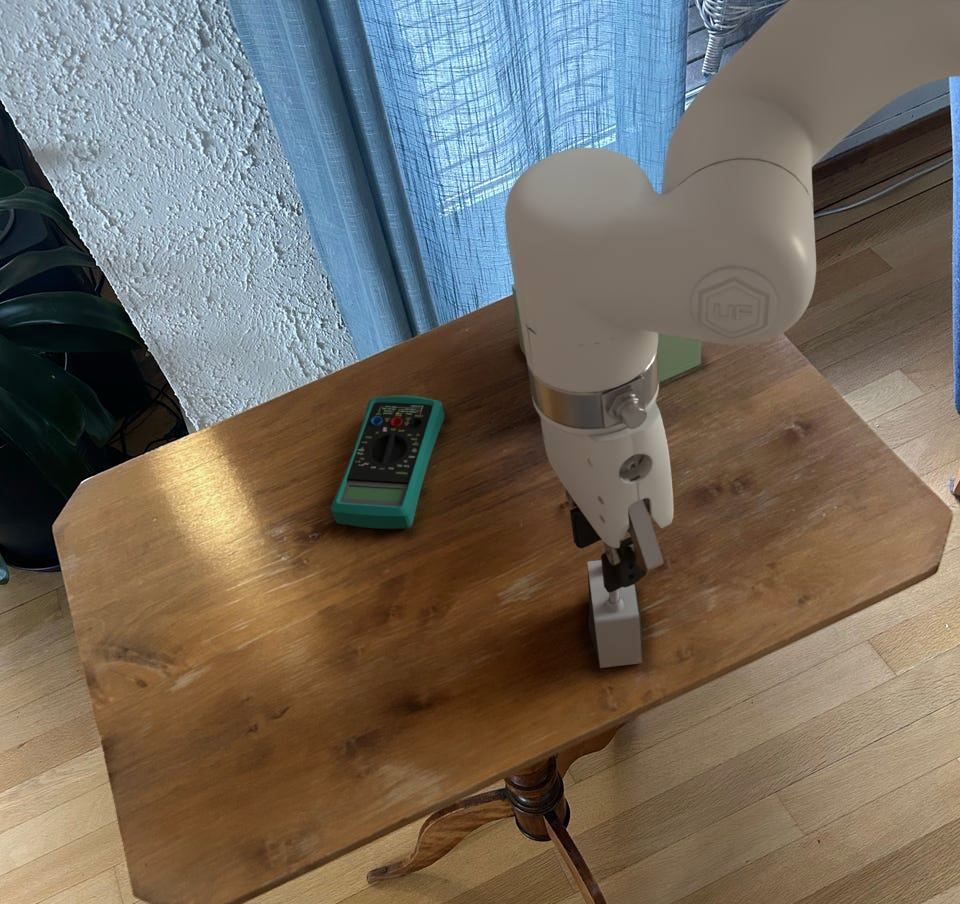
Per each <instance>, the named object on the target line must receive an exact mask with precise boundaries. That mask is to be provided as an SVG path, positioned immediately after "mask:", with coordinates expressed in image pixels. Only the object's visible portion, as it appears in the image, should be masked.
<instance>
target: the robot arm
mask: <svg viewBox="0 0 960 904" xmlns="http://www.w3.org/2000/svg"><path fill="white" fill-rule="evenodd" d="M954 77H960V0H788V2H786V3H785V4H784V5H782V7H781V8H780V9H778V10H777V11H776V12H775V13H773V15H772V16H771V17H770V18H769V19H768V20H767V21H765V23H763V25H762V26H761V27H760V28H759V29H757V31H756V32H755V33H754V34H752V36H751V37H750V38H749V39H748V40H747V41H746V42H745V43H744V44H743V45H742V46H741V47H740V48H739V49H738V50H737V52H735V53H734V54H733V55H732V57H730V58H729V60H727V61H726V63H725V64H724V65H722V67H721V68H720V69H719V70H718V71H717V72H716V73H715V74H714V75H713V76H712V77H711V79H710V80H709V81H708V82H707V83H706V84H705V85H704V86H703V87H702V89H700V91H699V92H698V93H696V94H697V95H696V96H695V97H694V98H693V99H692V101H691V102H690V103H689V105H688V106H687V107H686V109H685V110H684V112H683V114H682V115H681V117H680V119H679V121H678V122H677V124H676V126H675V127H674V129H673V132H672V134H671V136H670V139H669V142H668V145H667V149H666V152H665V157H664V158H665V159H664V164H663V171H662V172H663V173H662V181H661V192H660V193H658V192H657V191H656V190H655V189H654V187H653V184H652V182H651V180H650V178H649V177H648V175H647V173H646V171H645V170H644V169H643V168H642V167H641V166H640V165H639V164H638V163H637V162H636V160H633V158H631V157H629V156H627V155H625V154H622V153H620V152H618V151H615V150H611V149H607V148H600V147H578V148H577V147H576V148H570V149H566V150H562V151H558V152H555V153H552V154H550V155H548V156H545V157H543V158H542V159H540V160H538V161H536V162H535V163H534V164H532V165H530V166H529V167H528V168H526V170H524V171H523V172H522V173H521V174H520V175H519V177H518V178H517V179H516V180H515V181H514V183H513V185H512V187H511V189H510V191H509V192H508V196H507V199H506V204H505V210H504V221H505V222H504V224H505V233H506V238H507V239H506V240H507V245H508V252H509V259H510V264H511V271H512V277H513V282H514V284H515V291H516V297H517V303H518V310H519V316H520V322H521V329H522V335H523V341H524V347H525V354H526V356H525V360H526V365H527V366H526V367H527V372H528V373H527V374H528V376H529V377H528V378H529V385H530V391H531V399H532V403H533V407H534V408H535V411H536V413H537V414H538V415H539V419H540V426H541V427H540V428H541V433H542V439H543V445H544V449H545V454H546V457H547V459H548V462H549V464H550V466H551V468H552V469H553V472H554V473H555V475H556V476H557V478H558V480H559V481H560V482H561V484H562V485H563V487H564V488H565V498H566V500H567V502H568V505H570V507H571V508H572V509H570V510H569V516H570V523H571V530H572V531H571V532H572V538H573V543H574V545H575V546H576V547H577V548H578V549H585V548H587V547H589V546H591V545H593V544H595V543H597V542H599V541H602V542H603V541H604V546H605V553H604V552H603V553H602V554H601V555H600V560H601V562H602V572H603V582H604V587H605V589H606V590H607V592H609V593H610V592H613V591H615V590H617V589H620V588H622V587H624V588H625V587H629V586H631V585H633V584H634V585H635V584H637V583H638V582H639V581H640V580H641V579H643V578H644V577H645V576H647V574H648V572H650V571H652V570H654V569H656V568H658V567H660V566H663V565H664V563H665V561H664V557H663V553H662V551H661V548H660V545H659V542H658V539H657V536H656V532H655V530H654V526H653V523H652V520H653V521H655V523H656V524H657V525H658V527H660V529H661V530H662V529H664V528H665V527H668V526H670V525H671V524H672V522H673V520H674V514H675V513H674V512H675V511H674V510H675V509H674V493H673V492H674V491H673V479H672V468H671V459H670V453H669V452H670V451H669V446H668V440H667V435H666V430H665V426H664V421H663V418H662V414H661V410H660V408H659V406H658V404H657V402H656V400H657V398H658V395H659V390H660V383H659V365H658V333H660V334H665V335H670V336H675V337H680V338H684V339H689V340H694V341H699V342H701V343H704V344H705V343H706V344H713V345H718V346H719V345H722V346H746V345H755V344H760V343H763V342H767V341H769V340H772V339H774V338H776V337H778V336H780V335H782V334H784V333H785V332H787V331H789V329H791V328H792V327H793V326H794V325H795V324H796V323H797V322H798V321H799V320H800V319H801V317H802V316H803V315H804V313H805V312H806V310H807V309H808V307H809V305H810V302H811V300H812V297H813V293H814V291H815V286H816V276H817V251H816V234H815V215H814V214H815V213H814V190H813V167H814V166H815V165H816V164H817V163H819V161H820V160H822V159H823V158H824V157H825V155H827V154H828V153H829V152H830V151H831V150H832V149H834V148H835V147H836V146H837V145H839V144H840V143H841V142H842V141H843V140H844V139H845V138H846V137H848V136H849V135H850V134H852V132H853V131H854V130H855V129H857V128H858V127H859V126H860V125H862V124H863V123H864V122H865V121H866V120H868V119H869V118H871V116H873V115H874V114H876V113H877V112H878V111H880V110H881V109H882V108H884V107H885V106H887V105H888V104H890V103H892V102H894V100H896V99H898V98H899V97H901V96H903V95H905V94H907V93H909V92H911V91H913V90H914V89H916V88H919V87H921V86H924V85H927V84H930V83H932V82H935V81H938V80H939V81H940V80H943V79H948V78H954ZM525 354H524V355H525ZM651 518H652V520H651ZM627 533H629V535H630V536H629V537H627V538H625V537H626V535H627Z"/></svg>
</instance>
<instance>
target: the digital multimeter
mask: <svg viewBox="0 0 960 904" xmlns="http://www.w3.org/2000/svg"><path fill="white" fill-rule="evenodd" d="M444 420H445V412H444V408H443V404H442V402H441V401H440V400H436V399H432V398H428V397H423V396H417V395H410V394H409V395H408V394H407V395H405V394H399V395H398V394H397V395H386V396H379V397H378V396H377V397H372V398H370V399H369V400H368V401H367V406H366V409H365V413H364V416H363V420H362V423H361V426H360V429H359V432H358V436H357V439H356V442H355V446H354V448H353V451H352V454H351V456H350V459H349V461H348V465H347V467H346V470H345V472H344V474H343V477H342V480H341V482H340V484H339V486H338V488H337V491H336V493H335V496H334V499H333V501H332V503H331V505H330V510H331V514H332V516H333V519H334V521H335V522H336V524H340V525H346V526H351V527H360V528H366V529H367V528H370V529H387V530H388V529H392V530H393V529H396V530H397V529H409V528H411V527H412V526H413V523H414V519H415V515H416V510H417V506H418V502H419V498H420V494H421V489H422V486H423V484H424V483H423V482H424V479H425V476H426V472H427V469H428V465H429V461H430V458H431V456H432V453H433V450H434V447H435V444H436V442H437V438H438V436H439V434H440V430H441V429H442V425H443V423H444Z"/></svg>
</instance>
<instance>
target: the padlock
mask: <svg viewBox="0 0 960 904" xmlns="http://www.w3.org/2000/svg"><path fill="white" fill-rule="evenodd" d="M602 548H603V553H605V546H604V541H603V540H602ZM586 565H587V584H588V585H587V586H588V587H587V588H588V605H589V606H588V609H589V613H588V623H589V625H588V626H589V633H590V634H589V635H590V638H591V642H592V644H593V648H594V651H595V655H596V658H597V661H598V665H599V669H603V668H605V669H606V668H612V667H613V668H614V667H620V666H631V665H637V664H643V623H642V621H643V620H642V615H641V609H640V607H639V603H638V597H637V590H636V585H635V584H633V585H631V586H629V587H625V588H624V587H622V588H620V589H617V590H615V591H613V592H610V593H609V592H607V590H606V589H605V587H604V582H603V572H602V562H601V559H599V560H597V559H596V560H589V561H586Z"/></svg>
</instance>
